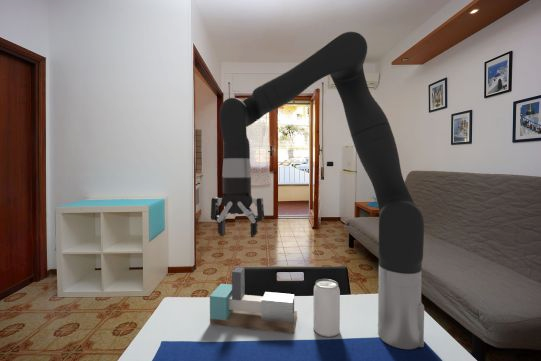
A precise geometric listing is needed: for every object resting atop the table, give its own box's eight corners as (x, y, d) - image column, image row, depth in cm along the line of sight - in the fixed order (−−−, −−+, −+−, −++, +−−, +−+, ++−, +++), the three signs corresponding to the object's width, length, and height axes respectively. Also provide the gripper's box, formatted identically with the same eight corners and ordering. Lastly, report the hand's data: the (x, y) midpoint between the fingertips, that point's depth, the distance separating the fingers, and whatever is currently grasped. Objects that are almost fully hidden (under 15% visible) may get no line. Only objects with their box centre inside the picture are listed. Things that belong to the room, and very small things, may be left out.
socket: (235, 305, 78) (235, 284, 78) (226, 320, 70) (226, 297, 70) (221, 303, 79) (220, 283, 79) (209, 318, 71) (209, 296, 71)
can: (340, 339, 65) (340, 289, 64) (312, 336, 66) (313, 287, 66) (339, 324, 71) (339, 279, 71) (314, 321, 72) (314, 277, 72)
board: (296, 316, 75) (296, 311, 75) (293, 333, 67) (293, 327, 67) (221, 309, 79) (221, 303, 79) (210, 324, 71) (209, 318, 71)
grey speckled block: (294, 313, 74) (294, 294, 73) (292, 323, 69) (292, 302, 69) (265, 311, 75) (265, 291, 75) (261, 320, 70) (261, 299, 70)
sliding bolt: (272, 307, 74) (272, 269, 74) (269, 314, 70) (269, 274, 70) (223, 302, 77) (223, 266, 76) (218, 309, 73) (218, 270, 73)
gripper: (265, 175, 75) (266, 233, 76) (217, 176, 78) (217, 232, 78) (259, 176, 68) (260, 240, 68) (206, 176, 70) (207, 238, 71)
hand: (237, 236), depth 73 cm, fingers open, 8 cm apart
